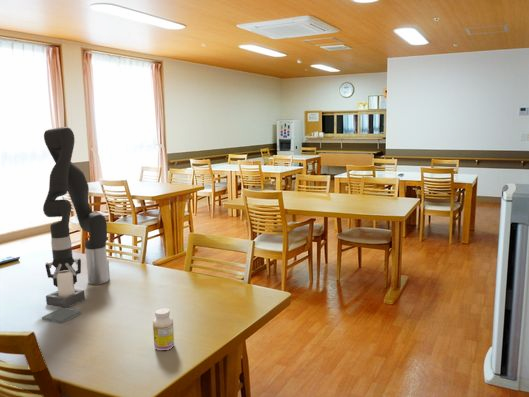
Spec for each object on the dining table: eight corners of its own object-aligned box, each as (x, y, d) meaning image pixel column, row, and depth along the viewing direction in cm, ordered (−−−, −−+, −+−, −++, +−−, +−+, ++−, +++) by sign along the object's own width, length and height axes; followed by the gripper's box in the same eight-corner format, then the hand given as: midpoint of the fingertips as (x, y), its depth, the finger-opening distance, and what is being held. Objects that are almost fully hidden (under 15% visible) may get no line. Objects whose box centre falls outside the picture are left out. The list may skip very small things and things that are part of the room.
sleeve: (66, 295, 204) (65, 287, 204) (84, 299, 200) (84, 290, 200) (46, 304, 195) (45, 295, 194) (65, 308, 191) (65, 299, 190)
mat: (62, 309, 189) (61, 307, 189) (81, 313, 185) (80, 310, 185) (42, 319, 180) (41, 317, 180) (61, 323, 176) (61, 320, 176)
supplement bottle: (156, 342, 159) (153, 307, 157) (175, 341, 160) (173, 306, 158) (153, 352, 153) (150, 315, 150) (173, 351, 153) (171, 314, 151)
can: (69, 300, 194) (66, 273, 191) (55, 300, 195) (52, 272, 193) (78, 294, 200) (75, 268, 198) (64, 294, 201) (61, 267, 199)
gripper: (42, 251, 187) (46, 290, 190) (80, 246, 193) (84, 284, 196) (43, 246, 194) (47, 284, 197) (79, 242, 200) (83, 279, 202)
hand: (65, 284), depth 196 cm, fingers closed on can, 6 cm apart
